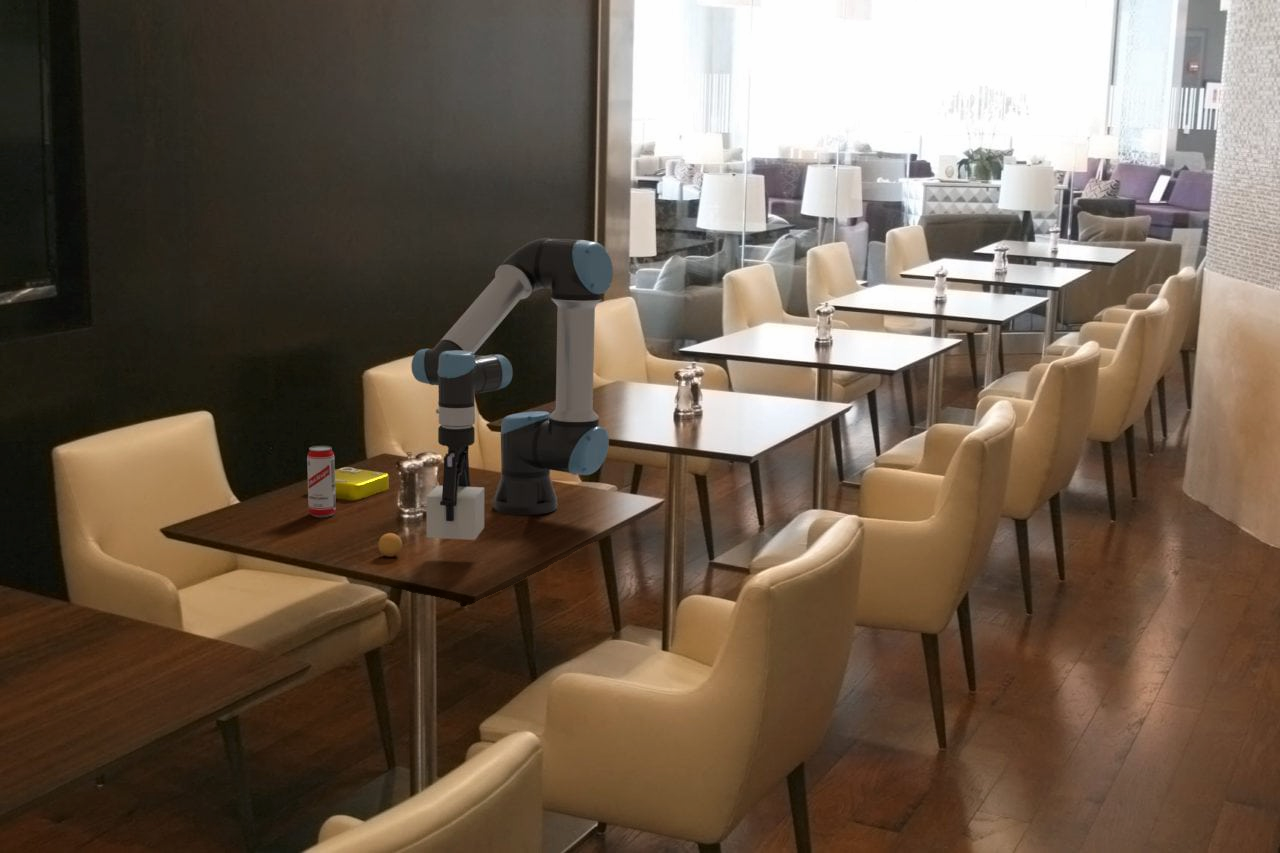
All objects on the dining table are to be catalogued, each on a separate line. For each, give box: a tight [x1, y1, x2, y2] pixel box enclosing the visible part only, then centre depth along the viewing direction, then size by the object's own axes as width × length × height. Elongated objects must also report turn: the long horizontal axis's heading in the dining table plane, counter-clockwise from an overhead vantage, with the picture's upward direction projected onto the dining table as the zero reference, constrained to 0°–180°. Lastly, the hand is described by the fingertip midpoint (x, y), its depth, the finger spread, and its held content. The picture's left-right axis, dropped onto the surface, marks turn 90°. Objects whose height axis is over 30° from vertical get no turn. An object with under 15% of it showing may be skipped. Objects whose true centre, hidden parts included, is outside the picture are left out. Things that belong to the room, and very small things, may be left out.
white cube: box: [426, 485, 485, 541], centre depth 315 cm, size 10×10×9 cm
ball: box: [377, 532, 403, 558], centre depth 318 cm, size 5×5×5 cm
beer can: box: [306, 445, 337, 518], centre depth 349 cm, size 6×6×16 cm
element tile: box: [335, 466, 390, 501], centre depth 373 cm, size 15×15×5 cm
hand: (456, 528), depth 315 cm, fingers closed on white cube, 10 cm apart
